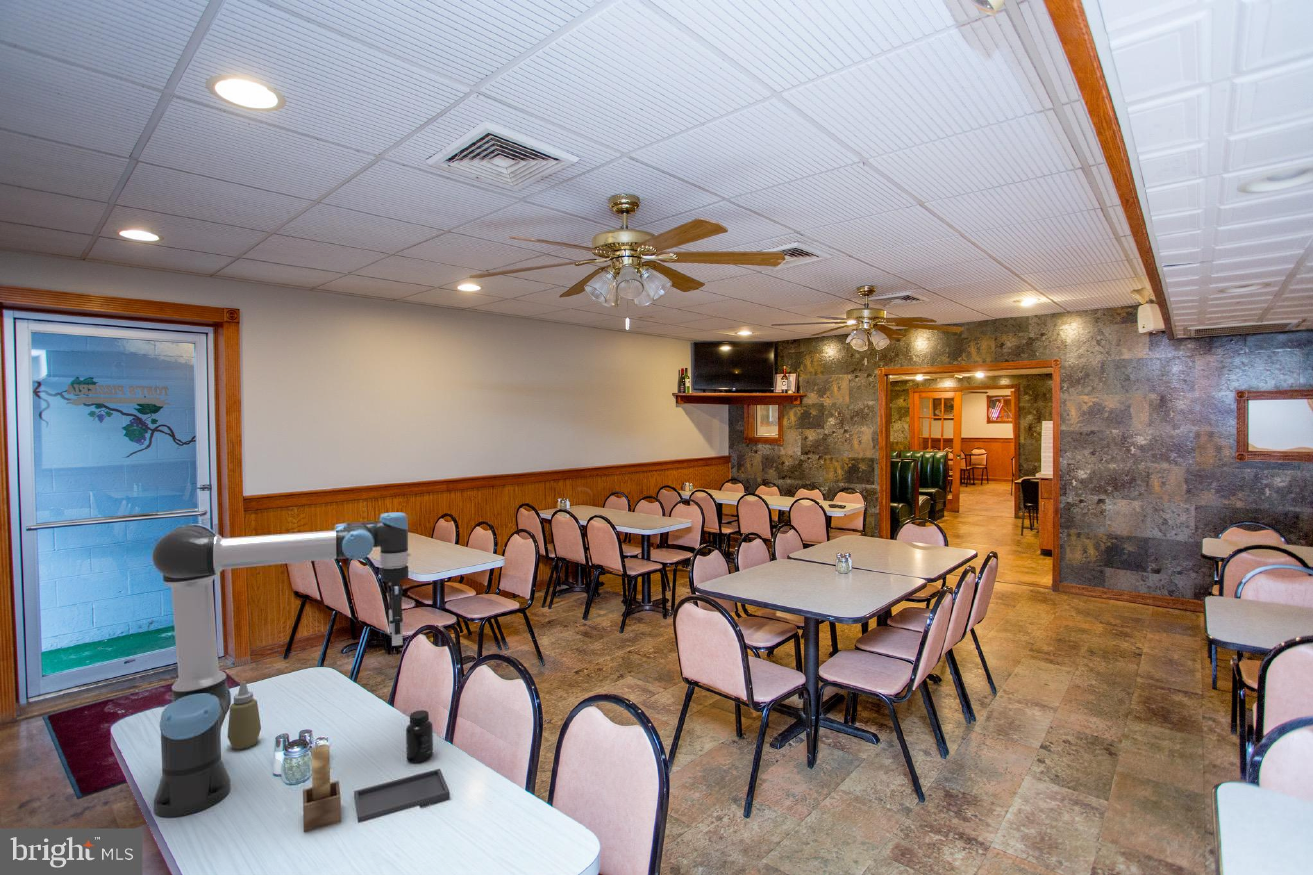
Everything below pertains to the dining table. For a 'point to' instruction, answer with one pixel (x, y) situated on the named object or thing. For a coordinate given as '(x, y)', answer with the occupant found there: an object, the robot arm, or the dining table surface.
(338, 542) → the robot arm
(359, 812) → the tray
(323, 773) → the dowel
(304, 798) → the box
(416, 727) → the supplement bottle
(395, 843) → the dining table surface
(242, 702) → the squeeze bottle
